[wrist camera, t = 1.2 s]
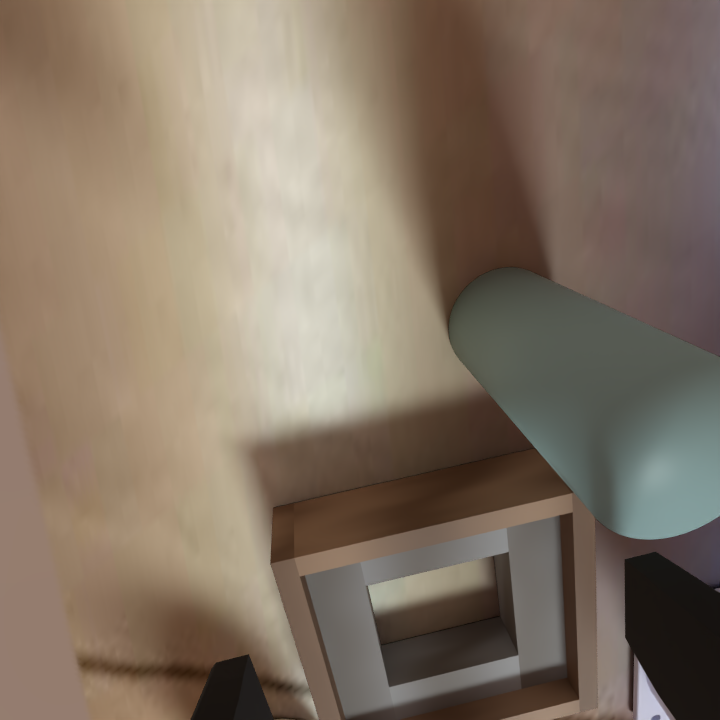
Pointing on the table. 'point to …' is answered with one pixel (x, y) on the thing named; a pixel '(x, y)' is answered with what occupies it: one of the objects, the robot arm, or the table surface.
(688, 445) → the peg
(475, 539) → the box
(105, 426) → the table surface
